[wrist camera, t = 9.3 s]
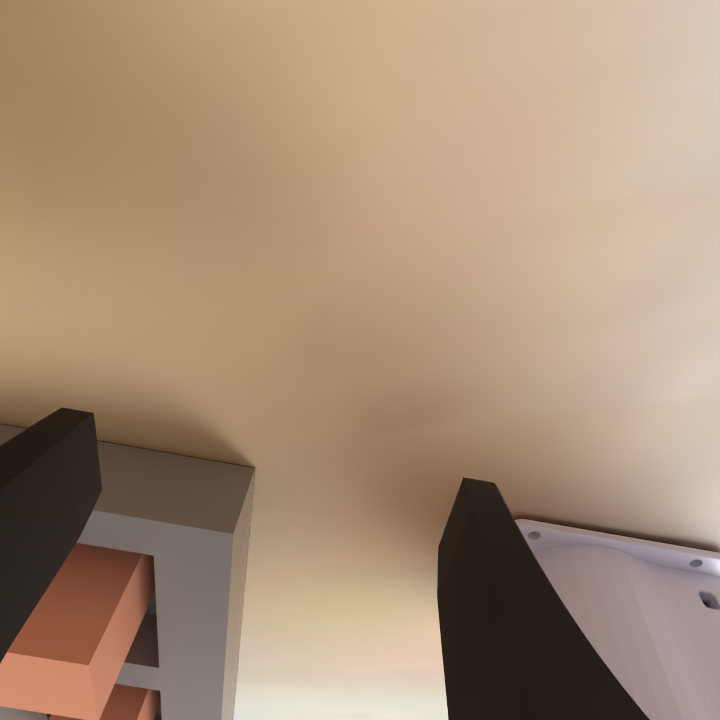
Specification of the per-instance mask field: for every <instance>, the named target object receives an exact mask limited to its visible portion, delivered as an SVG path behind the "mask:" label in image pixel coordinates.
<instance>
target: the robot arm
mask: <svg viewBox="0 0 720 720" xmlns="http://www.w3.org/2000/svg"><path fill="white" fill-rule="evenodd" d="M101 491H102V483H101V474H100V465H99V456H98V447H97V438H96V429H95V420H94V413H90V412H84V411H79V410H73V409H67V408H61V409H59V410H57V411H55V412H54V413H52V414H50V415H49V416H47V417H45V418H44V419H42V420H41V421H39V422H37V423H36V424H34V425H32V426H31V427H29V428H28V429H26V430H24V431H23V432H21V433H20V434H18V435H16V436H15V437H13V438H12V439H10V440H8V441H7V442H5V443H4V444H2V445H0V663H1V661H2V660H3V658H4V656H5V655H6V653H7V651H8V650H9V648H10V646H11V644H12V643H13V641H14V640H15V638H16V637H17V635H18V634H19V632H20V630H21V629H22V627H23V626H24V624H25V623H26V621H27V620H28V618H29V616H30V615H31V613H32V612H33V610H34V609H35V607H36V605H37V604H38V602H39V601H40V599H41V598H42V596H43V595H44V593H45V591H46V590H47V588H48V587H49V585H50V584H51V582H52V581H53V579H54V577H55V576H56V574H57V573H58V571H59V570H60V568H61V566H62V565H63V563H64V562H65V560H66V558H67V557H68V555H69V554H70V552H71V551H72V549H73V547H74V546H75V544H76V542H77V541H78V539H79V538H80V536H81V534H82V532H83V529H84V527H85V525H86V523H87V521H88V519H89V517H90V515H91V513H92V511H93V509H94V506H95V504H96V502H97V500H98V498H99V495H100V493H101ZM532 531H536V532H532ZM437 599H438V611H439V622H440V633H441V644H442V654H443V665H444V675H445V686H446V696H447V707H448V718H449V720H720V553H718V552H712V551H706V550H701V549H695V548H689V547H683V546H677V545H672V544H666V543H660V542H654V541H648V540H643V539H637V538H631V537H625V536H620V535H614V534H608V533H602V532H596V531H591V530H585V529H579V528H573V527H567V526H562V525H556V524H550V523H544V522H538V521H533V520H527V519H518V520H514V518H513V516H512V514H511V512H510V510H509V508H508V507H507V505H506V503H505V501H504V499H503V497H502V495H501V493H500V491H499V489H498V488H497V486H496V485H495V483H492V482H486V481H481V480H475V479H469V478H463V480H462V483H461V486H460V488H459V491H458V494H457V497H456V500H455V502H454V505H453V508H452V511H451V513H450V516H449V519H448V522H447V525H446V527H445V530H444V533H443V536H442V538H441V541H440V544H439V547H438V588H437Z"/></svg>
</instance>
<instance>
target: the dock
mask: <svg viewBox="0 0 720 720" xmlns="http://www.w3.org/2000/svg"><path fill="white" fill-rule="evenodd" d="M24 430H26V428H20V427H14V426H8V425H3V424H0V445H2V444H4V443H5V442H7V441H8V440H10V439H12V438H13V437H15V436H16V435H18V434H20V433H21V432H23V431H24ZM97 447H98V456H99V465H100V474H101V483H102V491H101V493H100V495H99V498H98V500H97V502H96V504H95V506H94V509H93V511H92V513H91V515H90V517H89V519H88V521H87V523H86V525H85V527H84V529H83V532H82V534H81V536H80V538H79V539H78V541H77V542H76V543H82V544H88V545H94V546H100V547H105V548H111V549H117V550H123V551H129V552H135V553H141V554H147V555H153V556H154V570H155V591H154V594H153V596H152V598H151V601H150V603H149V605H148V608H147V610H146V612H145V615H144V617H143V619H142V622H141V624H140V626H139V629H138V631H137V633H136V635H135V638H134V640H133V642H132V645H131V647H130V649H129V652H128V654H127V656H126V659H125V661H124V663H123V666H122V668H121V670H120V673H119V675H118V677H117V680H116V682H115V684H114V687H113V689H112V691H111V694H110V696H109V698H108V700H107V703H106V705H105V707H104V710H103V712H102V714H101V717H100V719H99V720H233V715H234V704H235V693H236V681H237V670H238V658H239V647H240V635H241V624H242V613H243V601H244V590H245V578H246V567H247V555H248V544H249V532H250V521H251V510H252V498H253V487H254V475H255V468H251V467H246V466H240V465H234V464H228V463H222V462H217V461H211V460H205V459H199V458H194V457H188V456H182V455H176V454H170V453H165V452H159V451H153V450H147V449H141V448H136V447H130V446H124V445H118V444H113V443H107V442H101V441H97ZM0 720H84V719H77V718H71V717H65V716H59V715H52V714H46V713H40V712H34V711H27V710H21V709H15V708H9V707H2V706H0Z"/></svg>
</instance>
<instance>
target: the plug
mask: <svg viewBox="0 0 720 720" xmlns="http://www.w3.org/2000/svg"><path fill="white" fill-rule="evenodd" d="M154 591H155V570H154V556H153V555H147V554H141V553H135V552H129V551H123V550H117V549H111V548H105V547H100V546H94V545H88V544H82V543H76V544H75V546H74V547H73V549H72V551H71V552H70V554H69V555H68V557H67V558H66V560H65V562H64V563H63V565H62V566H61V568H60V570H59V571H58V573H57V574H56V576H55V577H54V579H53V581H52V582H51V584H50V585H49V587H48V588H47V590H46V591H45V593H44V595H43V596H42V598H41V599H40V601H39V602H38V604H37V605H36V607H35V609H34V610H33V612H32V613H31V615H30V616H29V618H28V620H27V621H26V623H25V624H24V626H23V627H22V629H21V630H20V632H19V634H18V635H17V637H16V638H15V640H14V641H13V643H12V644H11V646H10V648H9V650H8V651H7V653H6V655H5V656H4V658H3V660H2V661H1V663H0V706H2V707H9V708H15V709H21V710H27V711H34V712H40V713H46V714H52V715H59V716H65V717H71V718H77V719H84V720H99V719H100V717H101V714H102V712H103V710H104V707H105V705H106V703H107V700H108V698H109V696H110V694H111V691H112V689H113V687H114V684H115V682H116V680H117V677H118V675H119V673H120V670H121V668H122V666H123V663H124V661H125V659H126V656H127V654H128V652H129V649H130V647H131V645H132V642H133V640H134V638H135V635H136V633H137V631H138V629H139V626H140V624H141V622H142V619H143V617H144V615H145V612H146V610H147V608H148V605H149V603H150V601H151V598H152V596H153V594H154Z"/></svg>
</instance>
